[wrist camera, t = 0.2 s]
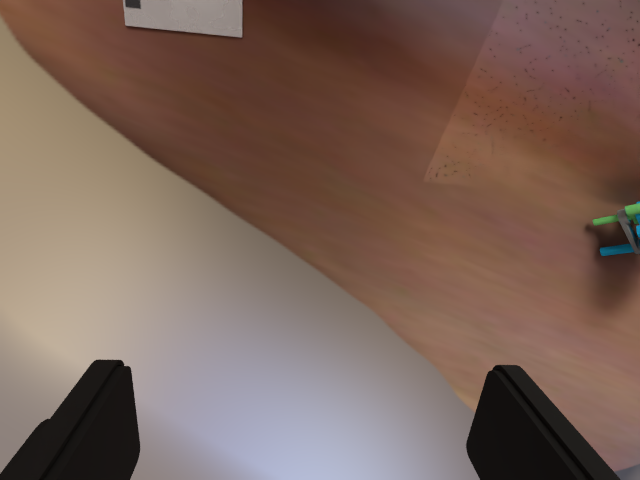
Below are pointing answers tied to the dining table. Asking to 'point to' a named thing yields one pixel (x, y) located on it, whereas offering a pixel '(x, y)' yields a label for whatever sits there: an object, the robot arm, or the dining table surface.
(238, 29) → the door panel
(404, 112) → the dining table surface
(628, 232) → the gear
